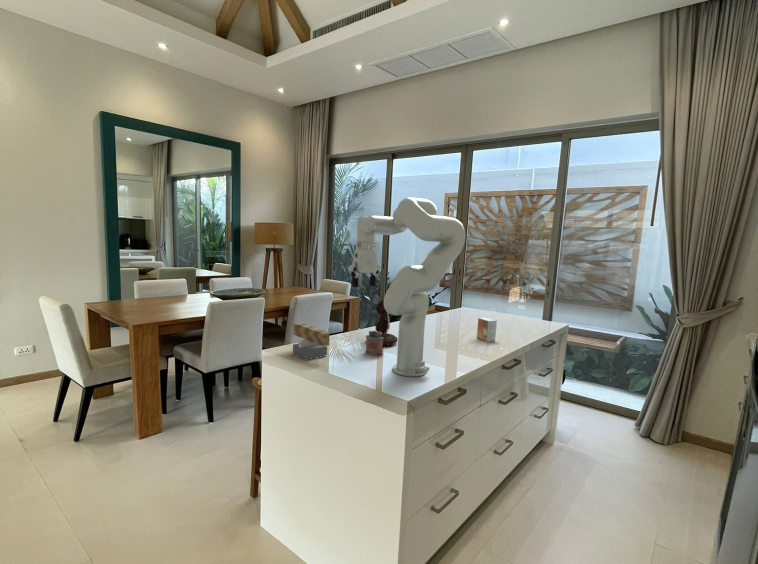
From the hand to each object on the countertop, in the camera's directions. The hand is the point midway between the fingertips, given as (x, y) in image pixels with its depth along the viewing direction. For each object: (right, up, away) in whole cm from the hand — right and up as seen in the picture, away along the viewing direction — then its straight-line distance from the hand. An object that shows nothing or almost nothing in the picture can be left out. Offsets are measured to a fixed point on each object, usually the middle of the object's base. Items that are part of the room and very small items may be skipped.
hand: (363, 286), depth 168 cm
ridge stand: (-22, -28, -5) cm, 36 cm away
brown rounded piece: (+8, -27, +18) cm, 34 cm away
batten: (-22, -22, -6) cm, 31 cm away
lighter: (+4, -29, 0) cm, 29 cm away
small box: (+61, -28, +35) cm, 76 cm away
